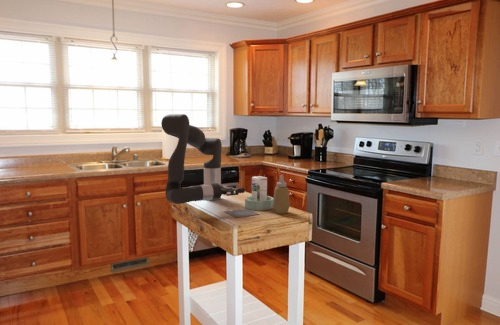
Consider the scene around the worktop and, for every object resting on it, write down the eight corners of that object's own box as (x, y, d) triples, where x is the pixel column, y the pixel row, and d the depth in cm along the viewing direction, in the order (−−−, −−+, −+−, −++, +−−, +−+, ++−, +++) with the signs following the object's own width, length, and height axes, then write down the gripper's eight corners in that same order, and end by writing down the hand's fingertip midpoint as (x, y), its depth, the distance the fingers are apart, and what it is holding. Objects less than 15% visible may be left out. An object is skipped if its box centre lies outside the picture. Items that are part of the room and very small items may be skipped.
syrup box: (250, 205, 198) (251, 176, 196) (260, 203, 202) (260, 175, 200) (258, 207, 194) (258, 178, 192) (267, 205, 197) (267, 177, 195)
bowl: (240, 205, 200) (240, 197, 200) (263, 202, 207) (263, 194, 207) (254, 211, 188) (254, 202, 188) (278, 208, 195) (279, 199, 195)
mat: (224, 212, 187) (224, 211, 187) (246, 209, 193) (246, 208, 193) (236, 217, 177) (236, 217, 177) (259, 214, 183) (259, 213, 183)
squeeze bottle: (283, 209, 192) (284, 173, 190) (293, 213, 185) (293, 175, 183) (269, 211, 188) (269, 174, 186) (278, 215, 181) (279, 176, 179)
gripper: (215, 186, 176) (247, 183, 185) (203, 181, 189) (233, 179, 197) (216, 202, 177) (247, 199, 185) (203, 197, 190) (233, 193, 198)
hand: (240, 188), depth 191 cm, fingers open, 8 cm apart
